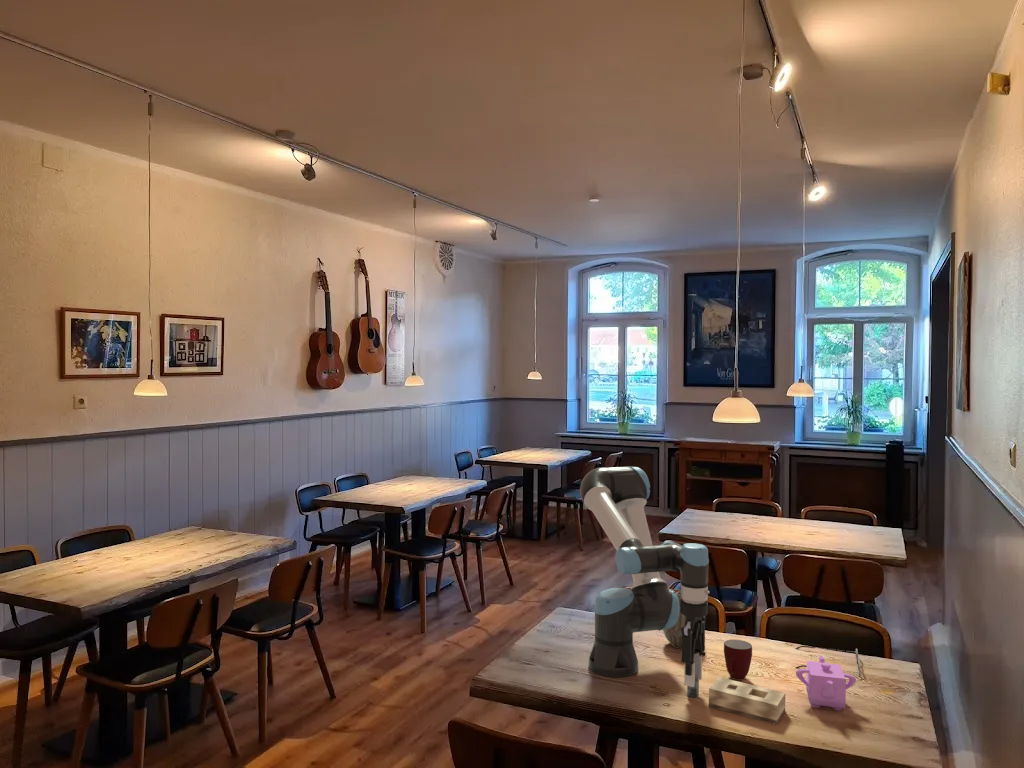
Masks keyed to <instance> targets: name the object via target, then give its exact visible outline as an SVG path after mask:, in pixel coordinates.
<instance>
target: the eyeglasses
mask: <svg viewBox="0 0 1024 768" xmlns="http://www.w3.org/2000/svg"><path fill="white" fill-rule="evenodd" d="M800 648H808V649H809V648H810V649H817V647H816V646H810V645H800V646H798V647H795V648H794V649H796V650H799V649H800ZM820 649H822V650H826V648H824V647H820ZM829 650H832V651H835V648H834V649H833V648H829ZM838 651H842V652H844V650H843V649H842V650H840V649H838ZM847 652H848V653H853V651H852V650H851V651H850V650H847ZM854 654H855V659H856V664H857V671H855V673H856V674H857V673H858V676H859V677H861V673H862V672H861V671H862V670H861V660H860V657H859V652H858V648H855V651H854ZM805 667H806V668H807V665H804V664H801V665H799V666H796V667H794V668H795V669H799V668H800V669H801V668H805ZM842 671H843V672H844V670H843V669H842ZM847 672H849V673H853V671H851V670H847Z"/></svg>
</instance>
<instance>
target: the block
mask: <svg viewBox="0 0 1024 768" xmlns="http://www.w3.org/2000/svg"><path fill="white" fill-rule="evenodd" d="M708 707H709V708H713V709H717V710H720V711H725V712H728V713H731V714H735V715H740V716H741V717H742V716H743V717H747V718H751V719H754V720H757V721H761V720H762V722H765V721H766V722H765V723H769V722H770V723H769V724H773V723H775V724H774V725H778V724H779V723H780V721H781V719H782V717H783V716H784V714H785V712H786V692H783V691H779V690H774V689H770V688H766V687H762V686H760V685H759V686H758V685H755V684H750V683H745V682H741V681H739V680H735V679H729V678H724V677H721V676H718V678H717V679H715V681H714V682H713V683H712V684H711V685H710V687H708ZM779 720H780V721H779Z"/></svg>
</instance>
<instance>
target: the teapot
mask: <svg viewBox="0 0 1024 768" xmlns="http://www.w3.org/2000/svg"><path fill="white" fill-rule="evenodd" d="M818 658H819V661H812V660H811V661H809V660H807V661H806V666H807V667H806V668H800V669H799V668H798V669H797V670H796V671H795V676H796V677H797V678H798V680H800V681H801V682H802V683H803V684H804V685H805V688H806V692H807V696H808V697H807V698H808V699H809V700H808V701H809V704H810V705H811V707H813V708H817V709H818V708H820V709H821V706H823V707H830V708H832V709H833V710H835V711H842V709H846V704H847V703H846V702H847V701H846V700H847V697H846V696H847V695H846V694H847V691H846V690H848V689H850V688H852V687H853V686H854V685H855V683H856V682H857V678H856V676H854V675H851V674H848V673H844V670H843V669H842V667H841V665H840V664H838V663H837V664H835V663H827V662H825V657H824V656H823V655H819V657H818ZM842 670H843V671H842ZM803 674H806V675H805V676H806V678H804V676H803ZM846 678H847V679H849V680H848V681H847V679H846Z"/></svg>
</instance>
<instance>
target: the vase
mask: <svg viewBox="0 0 1024 768" xmlns="http://www.w3.org/2000/svg"><path fill="white" fill-rule="evenodd" d="M675 594H677V596H678V600H679V607H680V601H681V597H680V590H679V591H677V592H676V591H675ZM685 621H686V616H685V615H683V614H682V613H681V612H680V610H679V617H678V620H677V622H676V624H675V625H674V626H673V627H672V628H668V629H663V630H662V633H664V634H663V635H664V637H665V638H666V640H667V641H668V643H670V644H671V646H673V647H675V648H676V649H681V650H682V631H681V628H682V627H685Z"/></svg>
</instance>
